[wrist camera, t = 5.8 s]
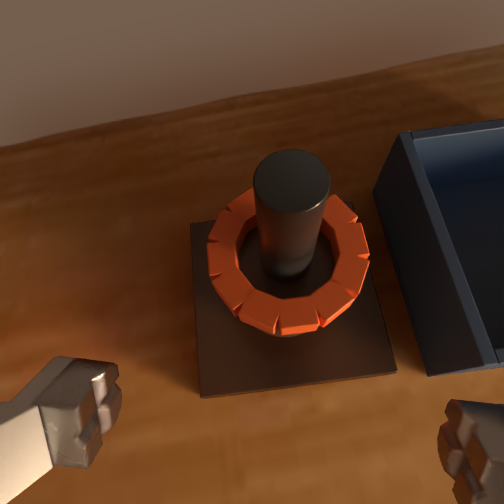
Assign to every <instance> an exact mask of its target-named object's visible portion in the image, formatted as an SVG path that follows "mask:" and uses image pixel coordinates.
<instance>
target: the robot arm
mask: <svg viewBox="0 0 504 504" xmlns="http://www.w3.org/2000/svg"><path fill="white" fill-rule="evenodd" d="M118 377H119V372H118V366H117V365H116V364H115V363H112V362H105V361H97V360H90V359H82V358H72V357H64V356H58V357H55V358H53V359H52V360H51V361H50V362H49V363H48V364H47V365H46V366H45V367H44V368H43V369H42V370H41V371H40V372H39V373H38V374H37V375H36V376H35V377H34V378H33V379H32V380H31V381H30V382H29V383H28V384H27V385H26V386H25V387H24V388H23V389H22V390H21V391H20V392H19V393H18V394H17V395H16V396H15V397H14V398H13V399H12V400H11V401H10V402H5V401H3V402H1V403H0V504H7V503H8V502H9V501H11V500H12V499H13V498H14V497H16V496H17V495H18V494H20V493H21V492H22V491H23V490H25V489H26V488H27V487H29V486H30V485H31V484H32V483H34V482H35V481H36V480H37V479H39V478H40V477H41V476H43V475H44V474H45V473H46V472H48V471H49V470H50V469H52V468H53V466H52V465H54V466H64V467H73V468H83V469H88V468H89V467H90V465H91V463H92V462H93V460H94V458H95V456H96V455H97V453H98V451H99V450H100V448H101V446H102V445H103V442H102V435H103V434H104V433H106V432H107V431H109V430H110V429H112V427H113V426H114V424H115V422H116V420H117V418H118V415H119V412H120V409H121V403H122V393H121V389H120V388H119V387H118V385H117V384H116V383H115V381H116V380H117V378H118ZM445 414H446V416H447V418H448V421H447V422H446V423H444V424H443V425H441V426H440V429H439V433H438V437H437V442H438V453H439V457H440V461H441V463H442V466H443V469H444V471H445V472H446V473H447V474H449V475H450V476H451V477H452V478H453V479H454V480H455V483H454V486H453V489H452V491H453V493H454V495H455V498H456V500H457V502H458V504H504V404H493V403H483V402H473V401H463V400H454V399H451V400H450V401H449V402H448V404H447V406H446V409H445Z"/></svg>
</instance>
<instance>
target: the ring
mask: <svg viewBox="0 0 504 504" xmlns="http://www.w3.org/2000/svg"><path fill="white" fill-rule="evenodd" d="M227 209H228V211H227V210H225V209H222V211H221V213H220V215H219V217H218V218H217V220H216V222H215V224H214V226H213V228H212V230H211V232H210V234H209V236H208V239H209V241H210V243H207V256H208V270H209V276H210V278H211V280H212V281H211V282H212V284H213V286H214V288H215V290H216V292H217V293H218V294H219V296H220V297H221V298H222V300H223V301H224V302H225V304H226V305H227V307H228V308H229V309H230V311H231V312H232V313H233V315H234V316H235V317H237V316H239V318H240V320H241V321H242V322H244V323H246V324H249V325H251V326H254V327H256V328H258V329H261V330H263V331H266V332H268V333H271V334H275V331H276V329H277V326H279V333H280V335H288V334H296V333H303V332H311V331H316V330H317V328H318V326H319V325H320V326H321V327H325V326H326V325H327V324H329V323H330V322H331V321H332V320H334V319H335V318H336V317H337V316H339V315H340V314H341V313H342V312H344V311H345V310H346V309H347V308H349V307H350V305H351V304H352V303H353V301H354V300H355V298H356V297H357V296H358V294H359V293H360V290H361V287H362V284H363V281H364V278H365V275H366V272H367V269H368V266H369V262H370V260H368V259H367V258H368V256H369V255H370V252H369V249H368V245H367V242H366V238H365V234H364V231H363V227H362V224H361V222H358V223H356V220H357V218H358V217H357V215H355V214H354V213H353V212H352V211H351V210H350V209H349V208H348V207H347V206H346V205H345V204H344V203H343V202H342V201H341V200H340V199H339V198H338V197H337V196H336V195H335V194H333V195H332V196H330V197H329V198H327V202H326V206H325V210H324V214H323V218H322V222H321V225H320V229H319V230H320V231H321V232H322V233H323V234H324V235H325V237H326V238H327V239H328V240H329V241H330V244H331V248H332V252H333V257H334V261H335V266H334V269H333V272H332V274H331V277H330V279H329V280H328V281H327V282H326V283H324V284H323V285H322V286H320V287H319V288H318V289H317V290H315V291H314V292H313V293H311V294H310V295H308V296H300V297H293V298H285V299H280V298H277V297H275V296H272V295H270V294H267V293H265V292H262V291H260V290H257V289H254V287H253V286H252V285H251V283H250V282H249V281H248V280H247V278H246V277H245V276H244V275H243V273H242V272H241V271H240V269H239V260H238V252H239V250H240V248H241V246H242V244H243V242H244V239H245V237H246V235H247V233H248V232H250V231H251V230H252V229H254V228H255V227H257V219H256V209H255V199H254V188H253V187H252V188H250V189H249V190H247V191H246V192H244V193H243V194H241V195H240V196H238V197H237V198H235V199H234V200H232V201H231V202H229V203H228V204H227Z"/></svg>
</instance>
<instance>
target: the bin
mask: <svg viewBox="0 0 504 504" xmlns="http://www.w3.org/2000/svg"><path fill="white" fill-rule="evenodd" d="M372 194H373V197H374V201H375V204H376V207H377V211H378V214H379V217H380V220H381V224H382V227H383V230H384V234H385V237H386V240H387V244H388V247H389V250H390V254H391V257H392V260H393V263H394V267H395V270H396V273H397V277H398V280H399V283H400V287H401V290H402V293H403V297H404V300H405V303H406V307H407V310H408V313H409V316H410V320H411V323H412V326H413V330H414V333H415V336H416V340H417V343H418V346H419V350H420V353H421V356H422V359H423V363H424V366H425V369H426V373H427V376H428V377H431V376H438V375H446V374H454V373H461V372H469V371H477V370H484V369H492V368H499V367H504V119H497V120H490V121H483V122H475V123H468V124H461V125H453V126H446V127H439V128H431V129H424V130H416V131H411V132H401V133H398V135H397V137H396V140H395V142H394V144H393V146H392V148H391V151H390V153H389V155H388V157H387V159H386V162H385V164H384V166H383V168H382V171H381V173H380V175H379V177H378V179H377V182H376V184H375V186H374V188H373V191H372Z"/></svg>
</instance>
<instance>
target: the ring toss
mask: <svg viewBox="0 0 504 504" xmlns="http://www.w3.org/2000/svg"><path fill="white" fill-rule="evenodd" d="M330 184H331V180H330V175H329V172H328V170H327V168H326V166H325V165H324V163H323V162H322V161H321V160H320V159H319V158H318V157H316V156H315V155H313V154H311V153H309V152H306V151H303V150H297V149H286V150H281V151H277V152H275V153H272V154H271V155H269V156H267V157H266V158H265V159H264V160H263V161H261V163H260V164H259V165H258V167H257V168H256V171H255V173H254V177H253V188H254V199H255V209H256V219H257V227H255V228H254V229H252V230H251V231H250V232H248V233H247V235H246V237H245V239H244V242H243V244H242V246H241V248H240V250H239V252H238V260H239V269H240V271H241V272H242V273H243V275H244V276H245V277H246V278H247V280H248V281H249V282H250V283H251V285H252V286H253V287H254V289H257V290H260V291H262V292H265V293H267V294H270V295H272V296H275V297H277V298H280V299H285V298H293V297H300V296H308V295H310V294H311V293H313V292H314V291H315V290H317V289H318V288H319V287H320V286H322V285H323V284H324V283H326V282H327V281H328V280H329V279H330V277H331V274H332V272H333V269H334V266H335V261H334V257H333V252H332V248H331V244H330V241H329V240H328V239H327V238H326V237H325V235H324V234H323V233H322V232H321V231H320V230H319V229H320V225H321V222H322V218H323V214H324V210H325V206H326V202H327V198H328V194H329V190H330ZM344 204H345V205H346V206H347V207H348V208H349V209H350V210H351V211H352V212H353V213H354V214H355V212H354V208H353V204H352V202H346V203H344ZM215 222H216V220H213V221H205V222H198V223H191V224H190V230H191V248H192V266H193V284H194V302H195V319H196V337H197V355H198V373H199V391H200V398H204V399H208V398H216V397H223V396H231V395H239V394H246V393H254V392H262V391H269V390H277V389H284V388H292V387H300V386H307V385H315V384H323V383H330V382H338V381H345V380H353V379H361V378H368V377H376V376H384V375H390V374H394V373H397V372H398V370H397V366H396V363H395V359H394V355H393V352H392V348H391V344H390V340H389V337H388V333H387V329H386V326H385V322H384V318H383V315H382V311H381V307H380V304H379V300H378V296H377V293H376V289H375V285H374V282H373V278H372V274H371V271H370V267H369V266H368V269H367V272H366V275H365V278H364V281H363V284H362V287H361V290H360V293H359V294H358V296H357V297H356V298H355V300H354V301H353V303H352V304H351V305H350V307H349V308H347V309H346V310H345V311H344V312H342V313H341V314H340V315H339V316H337V317H336V318H335V319H334V320H332V321H331V322H330V323H329V324H327V325H326V326H325V327H321V326H320V325H319V326H318V328H317V330H316V331H311V332H303V333H296V334H288V335H280V333H279V326H277V329H276V331H275V334H271V333H268V332H266V331H263V330H261V329H258V328H256V327H254V326H251V325H249V324H246V323H244V322H242V321H241V320H240V318H239V316H237V317H235V316H234V315H233V313H232V312H231V311H230V309H229V308H228V307H227V305H226V304H225V302H224V301H223V300H222V298H221V297H220V296H219V294H218V293H217V292H216V290H215V288H214V286H213V284H212V282H211V281H212V280H211V278H210V276H209V270H208V256H207V243H210V241H209V239H208V236H209V234H210V232H211V230H212V228H213V226H214V224H215ZM356 223H357V220H356Z"/></svg>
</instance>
